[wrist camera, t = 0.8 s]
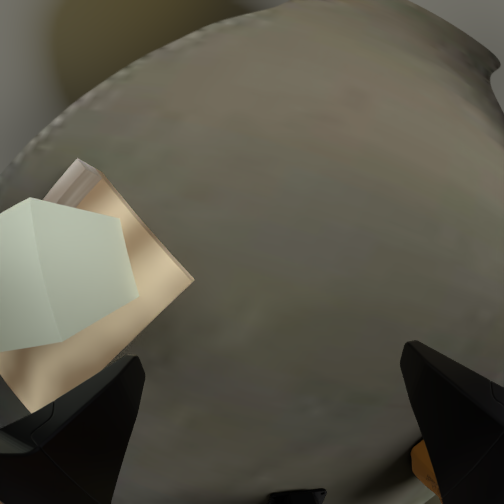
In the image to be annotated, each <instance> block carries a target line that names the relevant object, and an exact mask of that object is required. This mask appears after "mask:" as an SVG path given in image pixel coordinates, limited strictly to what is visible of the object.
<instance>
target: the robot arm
mask: <svg viewBox="0 0 504 504" xmlns="http://www.w3.org/2000/svg"><path fill="white" fill-rule="evenodd" d="M400 367H401V371H402V374H403V378H404V382H405V385H406V389H407V393H408V397H409V400H410V403H411V406H412V409H413V412H414V414H415V417H416V420H417V422H418V425H419V428H420V431H421V434H422V436H423V439H424V442H425V445H426V448H427V451H428V454H429V457H430V460H431V464H432V467H433V470H434V473H435V477H436V480H437V484H438V487H439V491H440V495H441V498H442V503H443V504H504V387H502V386H500V385H498V384H496V383H494V382H493V381H491V382H490V380H489V379H487V378H485V377H483V376H481V375H480V374H478V373H476V372H474V371H472V370H470V369H469V368H467V367H465V366H463V365H461V364H459V363H458V362H456V361H454V360H452V359H450V358H448V357H447V356H445V355H443V354H441V353H439V352H437V351H436V350H434V349H432V348H430V347H428V346H426V345H425V344H423V343H421V342H419V341H417V340H414V341H409V342H406V343H405V345H404V349H403V352H402V356H401V360H400ZM144 382H145V372H144V369H143V367H142V364H141V361H140V359H139V357H138V356H137V355H129V354H128V355H125V356H123V357H122V358H120V359H119V360H117V361H116V362H114V363H112V364H111V365H109V366H108V367H106V368H105V369H103V370H102V371H100V372H98V373H97V374H95V375H94V376H92V377H91V378H89V379H87V380H86V381H84V382H83V383H81V384H79V385H78V386H76V387H75V388H73V389H71V390H70V391H68V392H67V393H65V394H63V395H62V396H60V397H59V398H57V399H55V401H52V402H51V403H49V404H47V405H46V406H44V407H42V408H41V409H39V410H37V411H35V412H33V413H32V414H30V415H28V416H26V417H24V418H22V419H20V420H18V421H15V422H13V423H11V424H9V425H7V426H5V427H3V428H0V504H111V500H112V497H113V493H114V489H115V486H116V482H117V479H118V475H119V472H120V469H121V465H122V462H123V458H124V455H125V452H126V449H127V445H128V442H129V439H130V436H131V433H132V430H133V427H134V424H135V421H136V417H137V414H138V410H139V405H140V400H141V395H142V391H143V386H144ZM326 493H327V491H326V489H318V490H310V491H300V492H288V493H273V494H271V495H270V499H269V503H268V504H322V503H323V501H324V498H325V496H326Z"/></svg>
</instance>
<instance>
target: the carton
mask: <svg viewBox="0 0 504 504" xmlns="http://www.w3.org/2000/svg"><path fill="white" fill-rule="evenodd" d="M138 297H139V293H138V290H137V286H136V283H135V279H134V275H133V272H132V268H131V264H130V260H129V257H128V253H127V248H126V244H125V240H124V236H123V231H122V227H121V222H120V218H115V217H111V216H107V215H103V214H98V213H94V212H90V211H86V210H82V209H77V208H73V207H69V206H65V205H60V204H56V203H52V202H48V201H43V200H39V199H35V198H31V197H30V198H28V199H26V200H24V201H22V202H20V203H18V204H16V205H15V206H13V207H11V208H9V209H7V210H6V211H4V212H2V213H0V352H4V351H11V350H17V349H23V348H30V347H36V346H41V345H47V344H53V343H58V342H63V341H65V340H66V339H68V338H70V337H71V336H73V335H75V334H76V333H78V332H80V331H81V330H83V329H85V328H87V327H88V326H90V325H92V324H93V323H95V322H97V321H98V320H100V319H102V318H103V317H105V316H107V315H109V314H110V313H112V312H114V311H115V310H117V309H119V308H120V307H122V306H124V305H126V304H127V303H129V302H131V301H133V300H134V299H136V298H138Z"/></svg>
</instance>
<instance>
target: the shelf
mask: <svg viewBox="0 0 504 504" xmlns="http://www.w3.org/2000/svg"><path fill="white" fill-rule="evenodd" d="M43 201H48V202H52V203H56V204H60V205H65V206H69V207H73V208H77V209H82V210H86V211H90V212H94V213H98V214H103V215H107V216H111V217H115V218H120V222H121V227H122V231H123V236H124V240H125V244H126V248H127V253H128V257H129V260H130V264H131V268H132V272H133V275H134V279H135V283H136V286H137V290H138V293H139V297H138V298H136V299H134V300H133V301H131V302H129V303H127V304H126V305H124V306H122V307H120V308H119V309H117V310H115V311H114V312H112V313H110V314H109V315H107V316H105V317H103V318H102V319H100V320H98V321H97V322H95V323H93V324H92V325H90V326H88V327H87V328H85V329H83V330H81V331H80V332H78V333H76V334H75V335H73V336H71V337H70V338H68V339H66V340H65V341H63V342H58V343H53V344H47V345H41V346H36V347H30V348H23V349H17V350H11V351H4V352H0V375H1V376H2V378H3V379H4V380H5V382H6V383H7V384H8V386H9V387H10V388H11V390H12V391H13V392H14V393H15V395H16V396H17V397H18V398H19V400H20V401H21V402H22V403H23V404H24V405H25V407H26V408H27V409H28V410H29V411H30V412H31V414H32V413H33V412H35V411H37V410H39V409H41V408H42V407H44V406H46V405H47V404H49V403H51V402H52V401H55V399H57V398H59V397H60V396H62V395H63V394H65V393H67V392H68V391H70V390H71V389H73V388H75V387H76V386H78V385H79V384H81V383H83V382H84V381H86V380H87V379H89V378H91V377H92V376H94V375H95V374H97V373H98V372H100V371H101V370H102V369H103V368H104V367H105V366H106V365H107V364H108V363H109V362H110V361H111V360H112V359H113V358H114V357H115V356H116V355H117V354H118V353H119V352H120V351H121V350H123V349H124V348H125V347H126V346H127V345H128V344H129V343H130V342H131V341H132V340H133V339H134V338H135V337H136V336H137V335H138V334H139V333H140V332H141V331H142V330H143V329H144V328H145V327H146V326H147V325H148V324H149V323H150V322H151V321H152V320H153V319H154V318H155V317H156V316H157V315H158V314H159V313H161V312H162V311H163V310H164V309H165V308H166V307H167V306H168V305H169V304H170V303H171V302H172V301H173V300H174V299H175V298H176V297H177V296H178V295H179V294H180V293H181V292H182V291H183V290H185V289H186V288H187V287H188V286H189V285H190V284H191V283H192V282H193V281H194V280H195V279H194V278H193V277H192V276H191V275H190V274H189V273H188V272H187V271H186V269H185V268H184V267H183V266H182V265H181V264H180V263H179V262H178V261H177V260H176V259H175V257H174V256H173V255H172V254H171V253H170V252H169V251H168V250H167V249H166V247H165V246H164V245H163V244H162V243H161V242H160V241H159V240H158V238H157V237H156V236H155V235H154V234H153V233H152V232H151V230H150V229H149V228H148V227H147V226H146V225H145V223H144V222H143V221H142V220H141V219H140V218H139V216H138V215H137V214H136V213H135V212H134V211H133V209H132V208H131V207H130V206H129V205H128V203H127V202H126V201H125V200H124V199H123V197H122V196H121V195H120V194H119V193H118V191H117V190H116V189H115V188H114V186H113V185H112V184H111V183H110V182H109V180H108V179H107V178H106V177H105V175H104V174H103V173H102V172H101V171H99V170H97V169H95V168H94V167H92V166H90V165H88V164H87V163H85V162H83V161H81V160H80V159H78V158H77V159H76V160H75V162H74V163H73V164H72V165H71V166H70V167H69V168H68V169H67V171H66V172H65V173H64V174H63V175H62V176H61V178H60V179H59V180H58V181H57V182H56V184H55V185H54V186H53V187H52V189H51V190H50V191H49V192H48V194H47V195H46V196H45V197H44V199H43Z"/></svg>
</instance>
